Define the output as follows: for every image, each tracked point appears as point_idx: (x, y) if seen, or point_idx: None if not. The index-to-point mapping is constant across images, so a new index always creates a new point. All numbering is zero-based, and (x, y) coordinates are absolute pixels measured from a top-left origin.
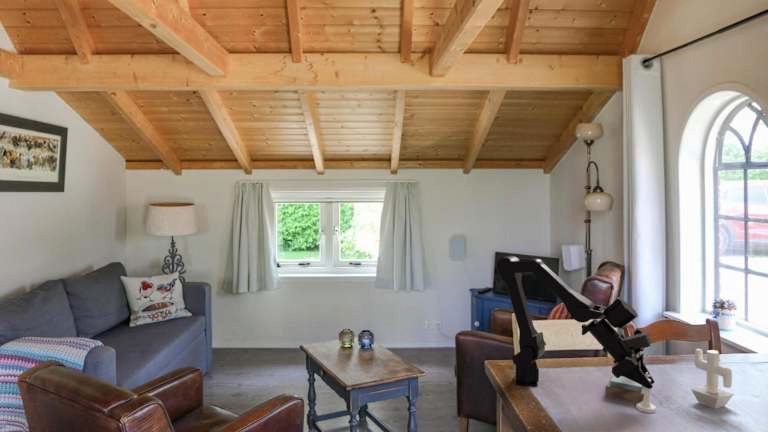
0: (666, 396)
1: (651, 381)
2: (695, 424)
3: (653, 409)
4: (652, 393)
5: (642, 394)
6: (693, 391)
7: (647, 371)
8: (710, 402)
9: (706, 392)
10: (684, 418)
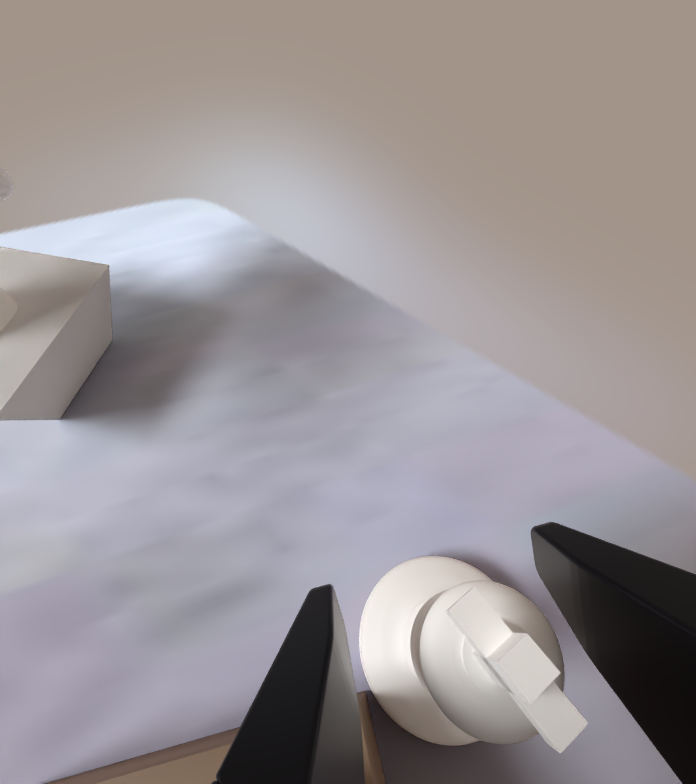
0: (38, 619)
1: (339, 626)
2: (418, 332)
3: (462, 562)
4: (19, 752)
5: (363, 733)
6: (14, 408)
7: (315, 737)
8: (92, 336)
9: (21, 332)
10: (382, 392)
